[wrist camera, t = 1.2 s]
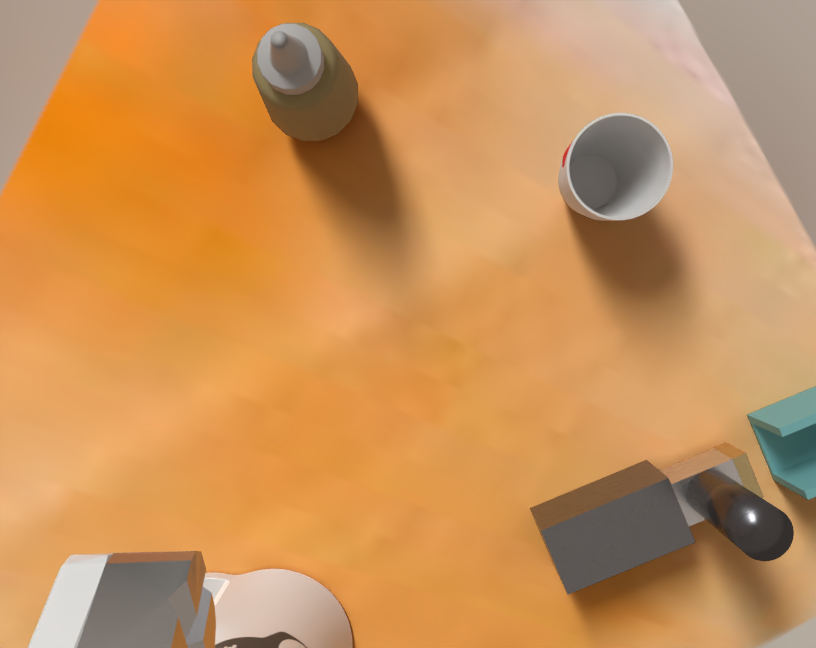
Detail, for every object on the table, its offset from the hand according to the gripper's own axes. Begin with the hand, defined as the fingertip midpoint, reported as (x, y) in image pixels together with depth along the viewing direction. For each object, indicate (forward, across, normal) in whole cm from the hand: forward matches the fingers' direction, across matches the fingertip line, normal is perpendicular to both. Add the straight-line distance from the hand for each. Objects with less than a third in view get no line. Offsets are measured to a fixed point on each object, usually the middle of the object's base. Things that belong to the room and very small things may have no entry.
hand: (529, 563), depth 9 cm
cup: (+56, +18, -19) cm, 61 cm away
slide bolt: (+40, +22, -43) cm, 63 cm away
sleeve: (+40, +18, -45) cm, 63 cm away
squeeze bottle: (+61, -6, -13) cm, 62 cm away
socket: (+43, +36, -38) cm, 68 cm away
